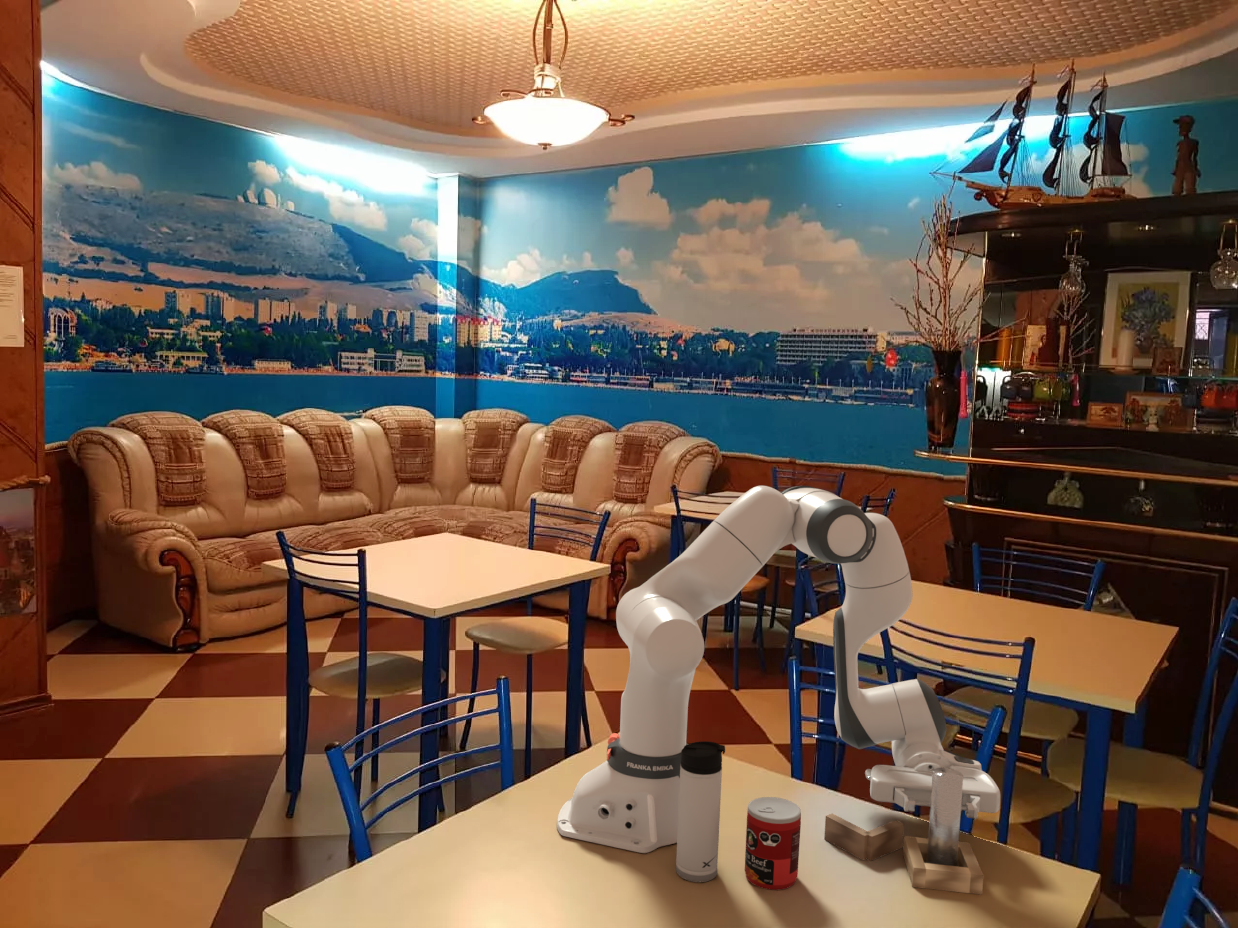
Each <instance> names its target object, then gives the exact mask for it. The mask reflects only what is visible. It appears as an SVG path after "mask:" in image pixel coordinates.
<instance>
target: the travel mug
mask: <svg viewBox="0 0 1238 928" xmlns="http://www.w3.org/2000/svg"><path fill="white" fill-rule="evenodd" d="M725 753H726V746H725V745H724V744H720V743H718V742H714V741H708V740H707V741H704V740H703V741H701V740H700V741H693V742H690V743H687V745H686V746H684V748H683V749H682V751H681V764H680V768H681V769H680V786H679V809H678V832H677V843H676V859H675V863H676V864H675V871H676V874H677V875H678V876H679V877H680V878H682V879H683V880H685V881H688V882H693V883H706V882H710V881H711V880H713V879H715V878H716V877H717V874H718V860H719V857H718V856H719V840H720V839H719V838H720V821H721V820H720V819H721V800H722V799H721V798H722V797H721V796H722V780H723V779H722V774H723V773H722V772H723V755H725Z"/></svg>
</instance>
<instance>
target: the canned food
mask: <svg viewBox="0 0 1238 928" xmlns="http://www.w3.org/2000/svg"><path fill="white" fill-rule="evenodd" d="M801 824H802V811H801V807H800V806H799V805H798V804H797V803H795V802H794V801H791V800H788V799H785V798H781V797H776V796H763V797H758V798H754V799H752V800H751V801H750V802H749V803H748V804H747V814H746V827H745V828H746V830H745V832H746V834H745V851H744V852H745V854H744V856H745V857H744V873H745V877H746V879H747V880H748V881H749V882H750V883H751V884H752V885H754V886H756V887H758V888H761V889H765V890H772V891H778V890H780V891H781V890H785V889H788V888H791V887H792V886H793V885H795V884H796V881H797V879H798V875H799V874H798V873H799V861H800V860H799V857H800V856H799V855H800V843H801V842H800V840H801V826H802V825H801Z"/></svg>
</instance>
